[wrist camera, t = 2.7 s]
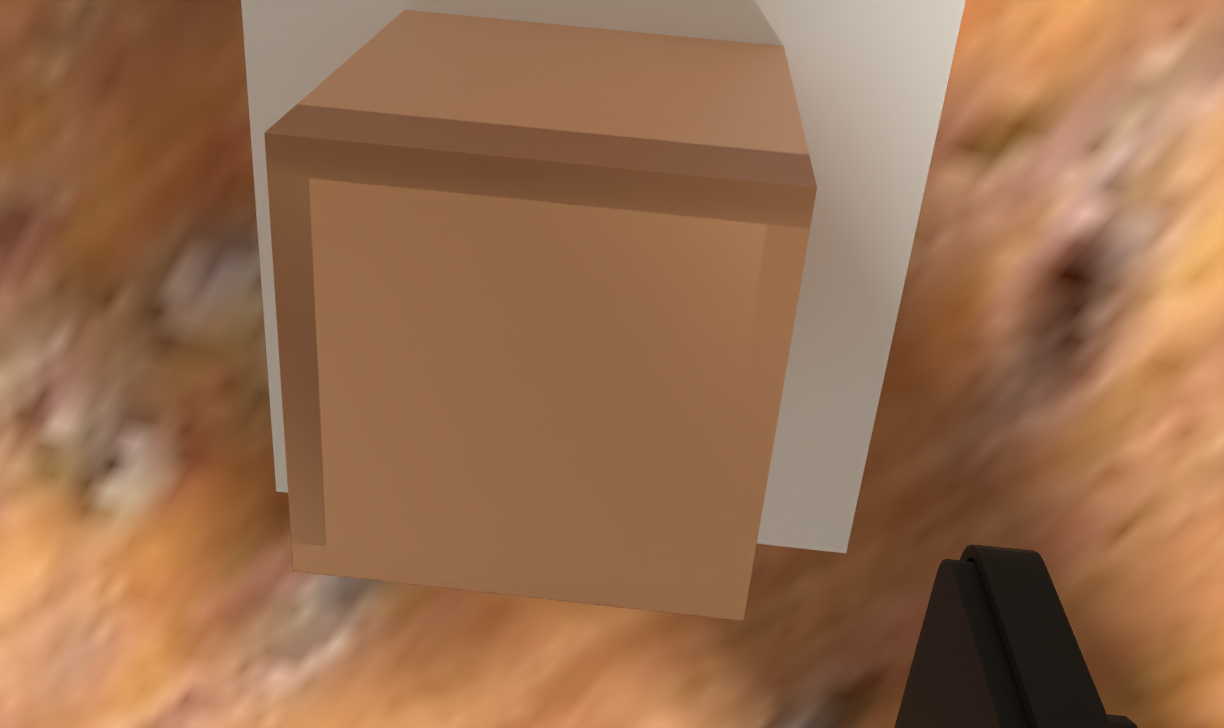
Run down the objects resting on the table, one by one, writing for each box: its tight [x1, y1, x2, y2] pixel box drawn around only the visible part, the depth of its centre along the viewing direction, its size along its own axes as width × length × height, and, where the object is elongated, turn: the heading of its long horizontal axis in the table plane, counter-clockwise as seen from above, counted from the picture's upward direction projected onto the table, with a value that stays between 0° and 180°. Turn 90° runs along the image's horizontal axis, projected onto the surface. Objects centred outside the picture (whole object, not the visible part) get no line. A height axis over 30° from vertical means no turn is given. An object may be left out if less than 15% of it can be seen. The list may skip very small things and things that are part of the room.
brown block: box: [264, 10, 817, 621], centre depth 18 cm, size 6×6×7 cm
